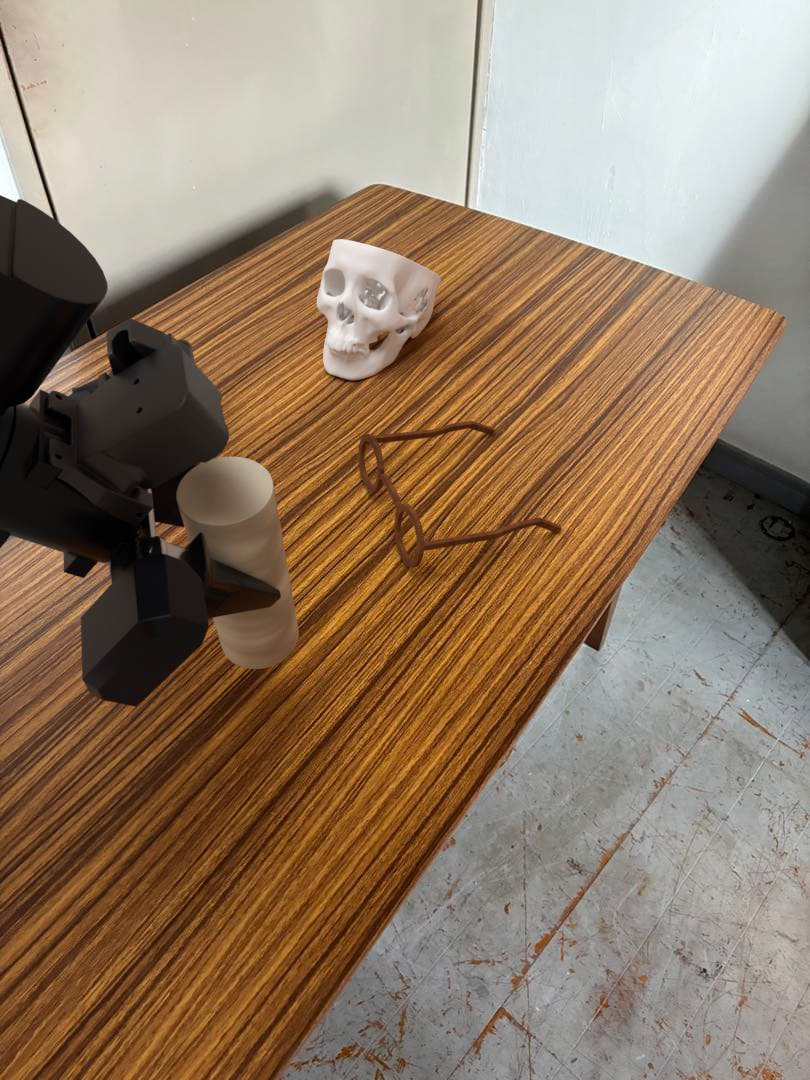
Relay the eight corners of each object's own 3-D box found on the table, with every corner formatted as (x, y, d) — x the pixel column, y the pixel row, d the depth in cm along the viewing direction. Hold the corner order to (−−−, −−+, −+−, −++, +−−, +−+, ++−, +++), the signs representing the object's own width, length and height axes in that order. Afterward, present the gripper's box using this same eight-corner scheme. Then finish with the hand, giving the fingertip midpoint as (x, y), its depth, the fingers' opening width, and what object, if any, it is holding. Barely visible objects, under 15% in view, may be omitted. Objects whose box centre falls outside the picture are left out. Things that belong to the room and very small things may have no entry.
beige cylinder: (253, 683, 48) (214, 541, 38) (205, 636, 50) (156, 489, 41) (314, 636, 50) (292, 489, 41) (266, 592, 53) (234, 442, 43)
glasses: (355, 469, 70) (352, 425, 66) (492, 431, 73) (497, 387, 69) (412, 582, 62) (412, 539, 58) (563, 534, 65) (573, 491, 61)
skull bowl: (278, 362, 77) (304, 227, 73) (347, 359, 90) (372, 244, 86) (374, 394, 74) (407, 255, 70) (432, 387, 86) (463, 269, 82)
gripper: (85, 489, 26) (412, 614, 37) (76, 212, 38) (326, 365, 48) (-68, 674, 31) (261, 739, 41) (-34, 376, 43) (216, 484, 53)
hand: (268, 564), depth 46 cm, fingers closed on beige cylinder, 5 cm apart
